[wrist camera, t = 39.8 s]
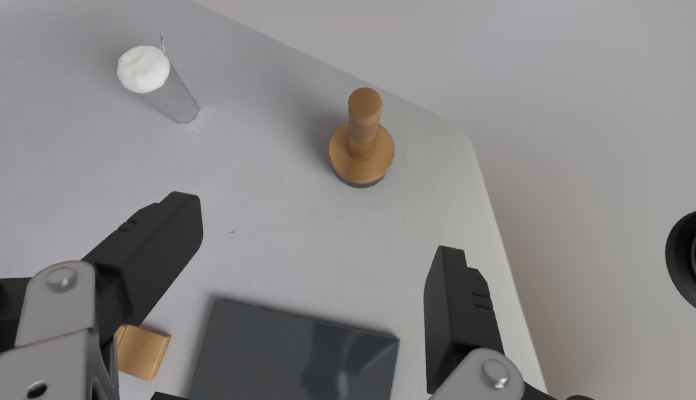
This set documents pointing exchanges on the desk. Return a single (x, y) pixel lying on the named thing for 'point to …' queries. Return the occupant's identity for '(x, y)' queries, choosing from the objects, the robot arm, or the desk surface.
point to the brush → (362, 142)
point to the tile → (290, 358)
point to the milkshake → (157, 82)
